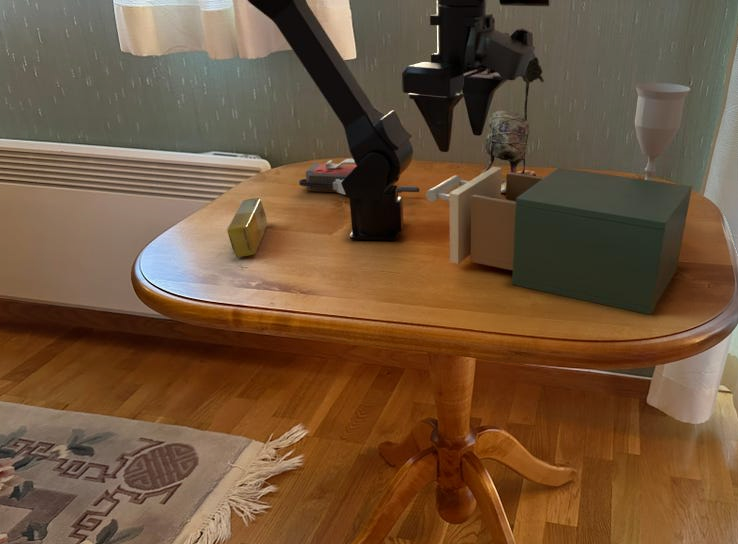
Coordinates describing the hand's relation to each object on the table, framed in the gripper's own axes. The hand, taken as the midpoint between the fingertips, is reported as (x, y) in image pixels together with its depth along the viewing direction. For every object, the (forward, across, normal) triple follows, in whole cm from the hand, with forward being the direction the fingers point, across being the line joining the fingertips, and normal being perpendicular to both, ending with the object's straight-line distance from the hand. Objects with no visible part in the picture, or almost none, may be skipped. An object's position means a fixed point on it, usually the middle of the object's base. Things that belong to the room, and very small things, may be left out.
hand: (461, 143), depth 86 cm
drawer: (+12, -3, -9) cm, 15 cm away
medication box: (+13, -14, +25) cm, 32 cm away
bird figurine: (+13, +24, +2) cm, 28 cm away
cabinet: (+13, -3, -20) cm, 24 cm away
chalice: (+13, +21, -20) cm, 32 cm away
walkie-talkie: (+13, +12, +24) cm, 30 cm away
